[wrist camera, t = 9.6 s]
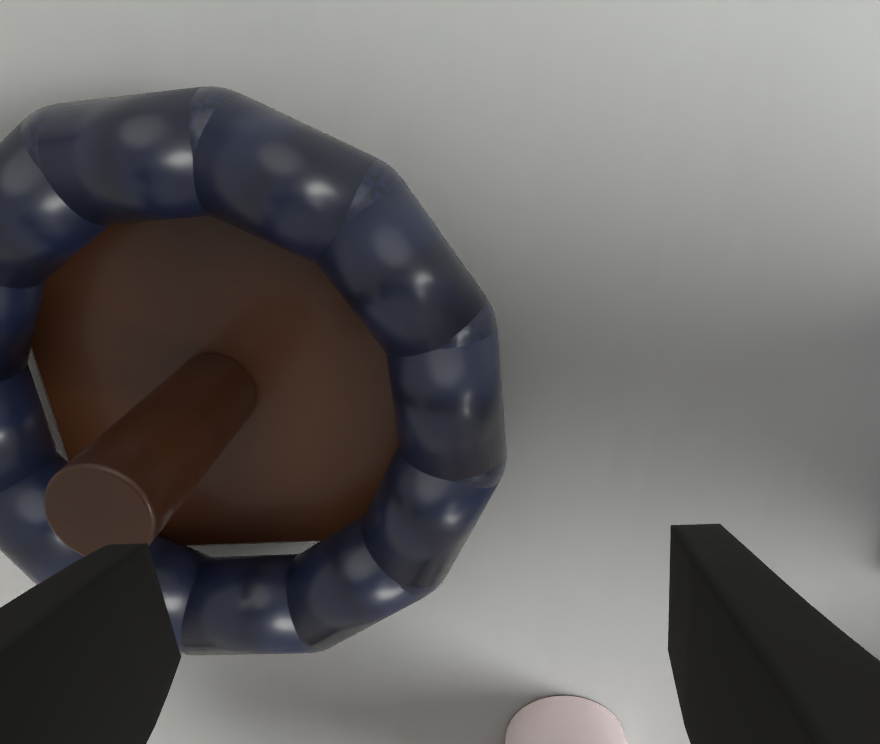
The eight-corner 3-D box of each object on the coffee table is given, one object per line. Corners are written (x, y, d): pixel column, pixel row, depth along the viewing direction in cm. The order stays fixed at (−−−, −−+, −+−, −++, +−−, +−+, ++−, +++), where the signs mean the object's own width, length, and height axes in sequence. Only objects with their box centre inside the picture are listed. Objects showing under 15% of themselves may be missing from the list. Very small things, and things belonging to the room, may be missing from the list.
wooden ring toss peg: (381, 178, 16) (306, 232, 10) (424, 512, 19) (387, 710, 13) (19, 213, 17) (-252, 283, 11) (118, 526, 20) (-49, 715, 14)
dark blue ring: (478, 57, 14) (473, 51, 12) (519, 603, 19) (521, 671, 17) (-128, 128, 16) (-234, 133, 13) (53, 615, 20) (-1, 679, 18)
